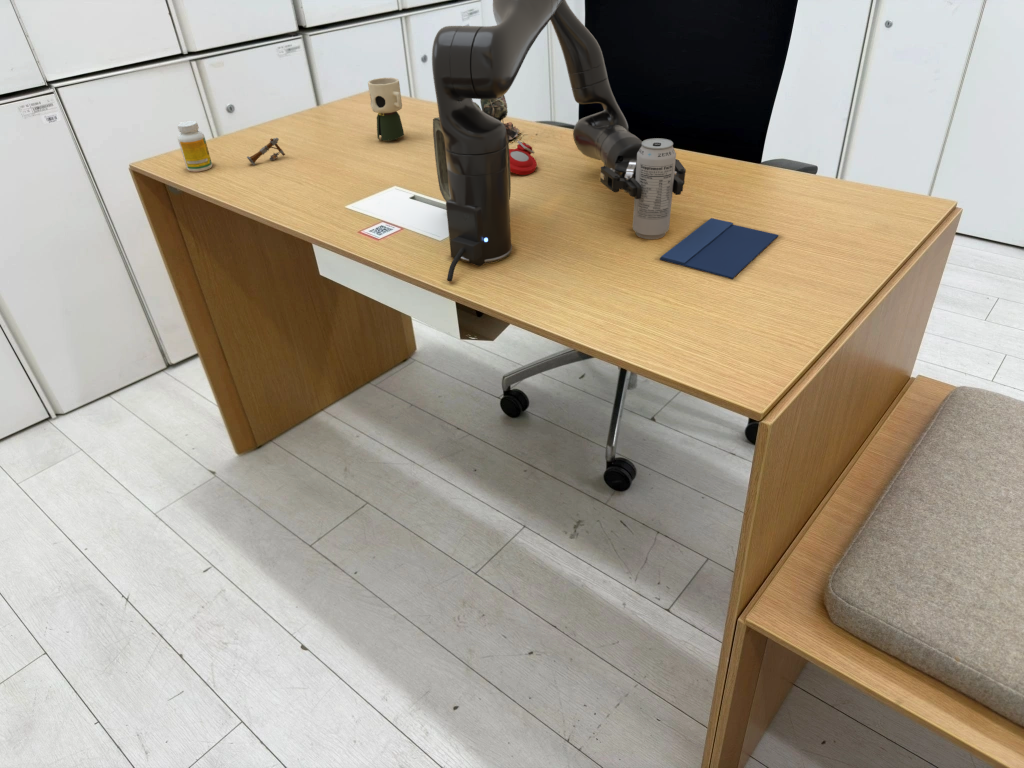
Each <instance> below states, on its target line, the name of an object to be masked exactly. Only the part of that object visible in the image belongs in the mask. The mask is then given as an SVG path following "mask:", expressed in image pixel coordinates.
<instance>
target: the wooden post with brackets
mask: <svg viewBox="0 0 1024 768" xmlns="http://www.w3.org/2000/svg"><path fill="white" fill-rule="evenodd" d="M278 143H279V137H273V138H272V137H271V138H270V139H269V142H268V143H267V144H266V145H264V146H262V148H260V149H259V151H258V152H256V153H254V154H253V155H251V156H249V155H247V156H246V158H247V160H248V161H249V162H250V163H251V164H252V165H253V166H255V165H256V162H257V160H259V158H260V157H262V156H263V155H265V154H266V153H268V151H270V149H274V150H278V152H273V153H272V155H270V157H269V160H270V161H275V160H276V159H278V158H279V155H280V154H281V156H283V157H284V156H286V153H285V152H284V150H283V149H282V148H281V147H280V146H279V145H278Z"/></svg>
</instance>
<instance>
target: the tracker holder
mask: <svg viewBox="0 0 1024 768" xmlns="http://www.w3.org/2000/svg"><path fill="white" fill-rule="evenodd" d="M516 143H517V147H516V148H509V156H510V173H512V174H516V175H519V176H520V175H521V176H524V175H525V176H526V175H530V174H533V173H534V172H535V171H536V168H537V166H538V162H537V160H536V159H535V157H533V156H532V154H533V155H534V154H535V151H534V150H533V147H532V145H530V144H528V143H526V142H522V141H520V140H517V141H516Z"/></svg>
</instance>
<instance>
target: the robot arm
mask: <svg viewBox="0 0 1024 768" xmlns="http://www.w3.org/2000/svg"><path fill="white" fill-rule="evenodd" d="M492 13H493V18H494V21H495V23H496V25H490V26H489V25H487V26H484V25H447V26H443V27H441V28H440V29H438V31H437V32H436V34H435V36H434V40H433V43H432V48H431V49H432V50H431V70H432V71H431V72H432V77H433V78H432V79H433V85H434V91H435V98H436V105H437V111H438V117H439V120H440V127H441V131H442V133H443V136H444V141H445V150H446V160H447V172H448V183H449V193H450V199H449V200H447V201H445V208H446V209H445V210H446V218H447V219H446V220H447V230H448V239H449V250H450V251H449V252H450V257H451V258H452V261H451V263H450V265H449V267H448V273H447V278H446V280H447V282H452V281H453V280H454V279H453V278H454V275H455V269H456V267H457V264H458V263H459V261H461V262H465V263H468V264H471V265H474V266H477V267H482V266H484V265H488V264H493V263H497V262H500V261H503V260H505V259H506V258H508V257H509V256H510V255H511V254H512V253H513V244H512V227H511V205H510V200H509V181H508V155H507V133H506V128H505V126H504V124H505V123H504V122H503V121H502V120H501V121H499V120H497V119H495V118H493V117H491V116H489V115H487V114H486V113H484V112H483V111H482V109H481V110H480V109H479V108H478V107H477V106H476V105H475V104H474V102H475V101H473V100H481V99H496V98H500V97H502V96H503V95H504V96H505V95H506V93H508V91H509V90H510V89H511V87H512V85H513V83H514V82H515V79H516V77H517V76H518V75H519V71H520V69H521V67H522V65H523V63H524V61H525V59H526V57H527V55H528V53H529V51H530V50H531V48H532V46H533V45H534V43H535V42H536V40H537V39H538V37H539V35H540V34H541V32H543V30H544V29H545V28H546V27H547V26H548V24H549V22H551V26H552V28H553V31H554V33H555V35H556V38H557V40H558V43H559V46H560V48H561V53H562V55H563V59H564V63H565V66H566V70H567V75H568V79H569V84H570V87H571V92H572V96H573V99H574V101H575V102H576V103H577V104H579V105H588V104H600V105H601V106H602V108H603V110H602V111H599V112H596V113H593V114H590V115H587V116H585V117H582V118H580V119H579V120H578V121H576V123H575V124H574V127H573V131H572V137H573V142H574V144H575V146H576V148H577V149H578V151H580V153H581V154H582V155H584V156H586V157H588V158H590V159H594V160H597V161H601V162H602V163H603V165H602V166H600V173H599V174H600V177H599V183H601V184H602V185H604V186H605V187H606V188H607V189H608V190H610V191H611V192H612V193H619V192H620V190H623V192H624V193H626V194H628V195H629V196H630V197H632V198H633V199H634V198H635V199H641V185H640V184H639V183H638V182H637V181H636V164H637V153H638V151H639V149H640V148H641V146H642V142H643V141H642V139H640V138H639V137H638V136H636V135H635V134H633V133H631V131H629V123H628V121H627V119H626V117H625V115H624V113H623V111H622V110H621V108H620V105H619V104H618V102H617V100H616V97H615V96H614V93H613V91H612V87H611V84H610V81H609V77H608V72H607V67H606V64H605V58H604V54H603V51H602V48H601V46H600V44H599V42H598V40H597V39H596V38H595V36H594V35H593V34H592V33H591V32H590V30H589V29H588V28H587V27H586V26H585V25H584V23H582V21H581V20H580V19H579V18H578V17H577V15H576V14H575V13H574V11H573V10H572V9H571V7H570V6H569V4H568V2H567V0H492ZM503 123H504V124H503ZM686 172H687V169H686V168H685V166H684V165H683V164H682V162H681V161H680V160H679V159H677V158H676V161H675V172H674V182H673V193H672V194H674V195H675V196H678V195H682V193H683V192H684V185H685V179H686Z"/></svg>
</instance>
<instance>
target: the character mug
mask: <svg viewBox="0 0 1024 768" xmlns="http://www.w3.org/2000/svg"><path fill="white" fill-rule="evenodd" d="M367 86H368V95H369V97H370V108H371V110H372V112H373V113H376V114H377V115H376V136H377V139H378V140H380V136H381V141H385V142H388V141H396V140H398V139H400V138H402V137H404V136H405V132H404V127H403V122H402V120H401V116H400V114H399V112H398V111H401V110H402V109H403V103H402V94H401V85H400V80H399V78H397V77H378V78H374V79H371V80H369V81H368V82H367Z"/></svg>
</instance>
